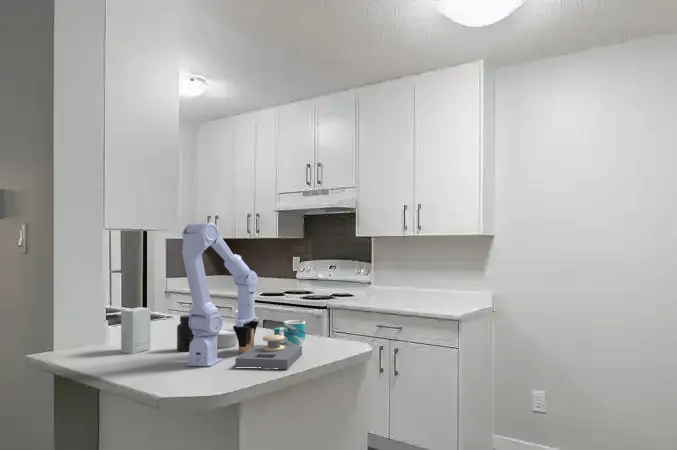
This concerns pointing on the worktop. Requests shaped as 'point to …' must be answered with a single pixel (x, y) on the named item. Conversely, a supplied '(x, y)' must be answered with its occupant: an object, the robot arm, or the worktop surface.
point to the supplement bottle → (184, 334)
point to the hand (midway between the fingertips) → (246, 344)
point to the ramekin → (226, 338)
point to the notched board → (270, 354)
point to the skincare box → (135, 330)
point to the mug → (292, 333)
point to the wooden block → (248, 341)
